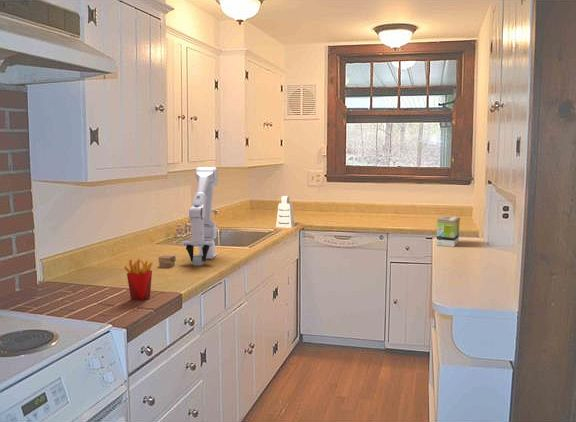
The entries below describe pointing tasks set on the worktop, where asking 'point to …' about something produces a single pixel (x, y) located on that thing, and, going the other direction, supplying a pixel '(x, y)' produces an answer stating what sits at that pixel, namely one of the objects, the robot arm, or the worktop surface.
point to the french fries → (139, 280)
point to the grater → (285, 213)
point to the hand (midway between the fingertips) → (198, 261)
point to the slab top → (167, 259)
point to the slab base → (166, 265)
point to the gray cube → (198, 260)
